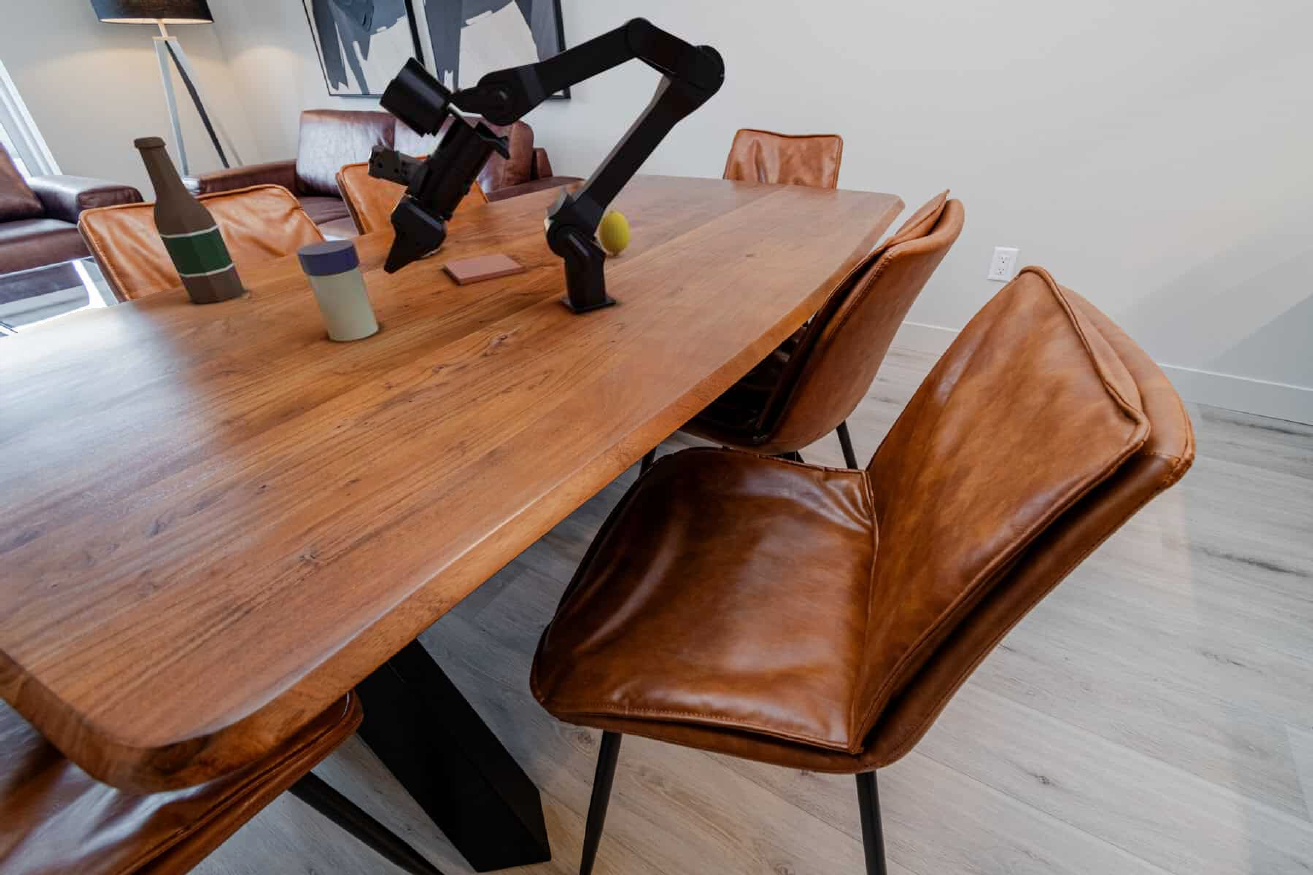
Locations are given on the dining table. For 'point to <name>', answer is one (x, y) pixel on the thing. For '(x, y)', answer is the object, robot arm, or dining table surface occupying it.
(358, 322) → the jar
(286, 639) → the dining table surface
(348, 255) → the jar lid
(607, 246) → the lemon
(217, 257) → the beer bottle
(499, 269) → the coaster
